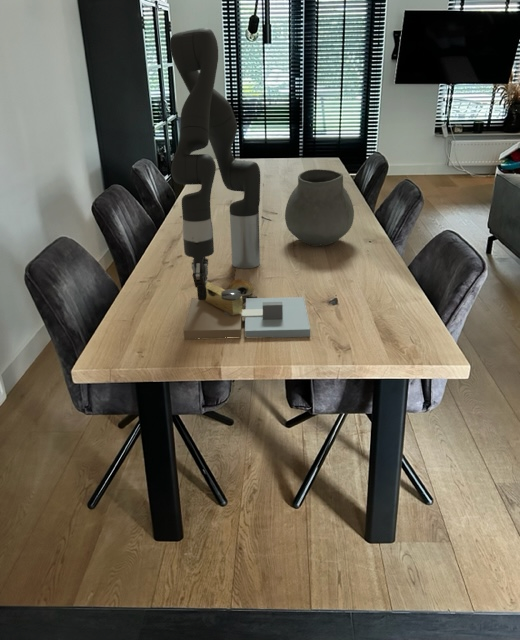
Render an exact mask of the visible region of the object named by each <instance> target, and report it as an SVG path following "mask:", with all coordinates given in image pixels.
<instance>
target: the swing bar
mask: <svg viewBox="0 0 520 640" xmlns="http://www.w3.org/2000/svg"><path fill="white" fill-rule="evenodd" d="M206 282H207V284H206V292H207V298H206V300H205V301H207V302H208V303H210V304H212V305H214V306H216V307H218V308H220V309H222V310H224V311H226V312H227V313H229V314H231V315H236V314H239V313H241V312H242V309H243V308H242V301H243V297H242V298H241V292H240V291H239V290H235V289H229V288H228V289H225V288H222V287H220V286H218V285H216V284H213V283H212V282H210V281H209V280H208V281H207V280H206Z"/></svg>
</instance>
